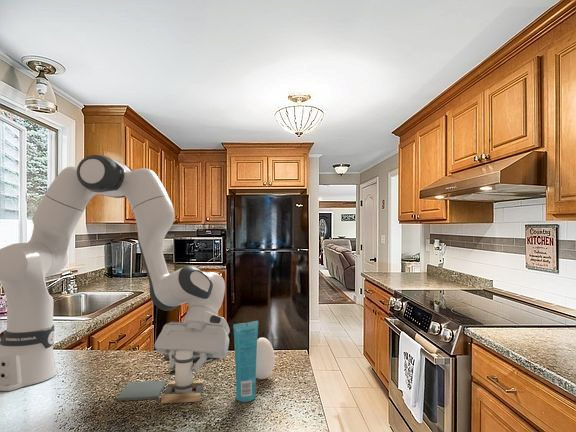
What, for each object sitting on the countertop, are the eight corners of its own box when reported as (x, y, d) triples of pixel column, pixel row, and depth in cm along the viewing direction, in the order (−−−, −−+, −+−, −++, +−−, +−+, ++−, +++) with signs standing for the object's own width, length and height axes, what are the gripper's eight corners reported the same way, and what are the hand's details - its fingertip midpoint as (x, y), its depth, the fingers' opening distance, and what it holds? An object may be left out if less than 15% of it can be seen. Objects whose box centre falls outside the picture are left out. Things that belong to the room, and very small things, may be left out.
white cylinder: (172, 398, 94) (173, 354, 94) (176, 390, 99) (176, 349, 99) (191, 397, 95) (192, 354, 95) (193, 390, 99) (194, 348, 100)
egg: (249, 374, 111) (249, 334, 111) (273, 373, 111) (274, 334, 112) (248, 384, 103) (249, 341, 104) (275, 383, 104) (275, 341, 104)
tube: (251, 390, 99) (252, 318, 100) (262, 397, 95) (263, 321, 96) (227, 399, 94) (229, 323, 95) (239, 406, 90) (240, 326, 91)
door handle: (148, 355, 120) (178, 363, 110) (197, 341, 136) (227, 347, 126) (148, 366, 120) (178, 375, 110) (197, 350, 136) (228, 357, 126)
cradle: (161, 403, 91) (161, 397, 91) (168, 387, 101) (168, 381, 101) (199, 401, 92) (200, 395, 93) (203, 385, 102) (203, 380, 102)
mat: (116, 400, 92) (117, 398, 93) (128, 384, 102) (128, 382, 102) (158, 398, 94) (158, 396, 94) (165, 382, 104) (166, 380, 104)
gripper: (162, 315, 106) (142, 361, 96) (230, 319, 102) (216, 367, 92) (169, 327, 110) (151, 372, 100) (235, 331, 106) (222, 378, 96)
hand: (182, 370), depth 96 cm, fingers open, 5 cm apart
